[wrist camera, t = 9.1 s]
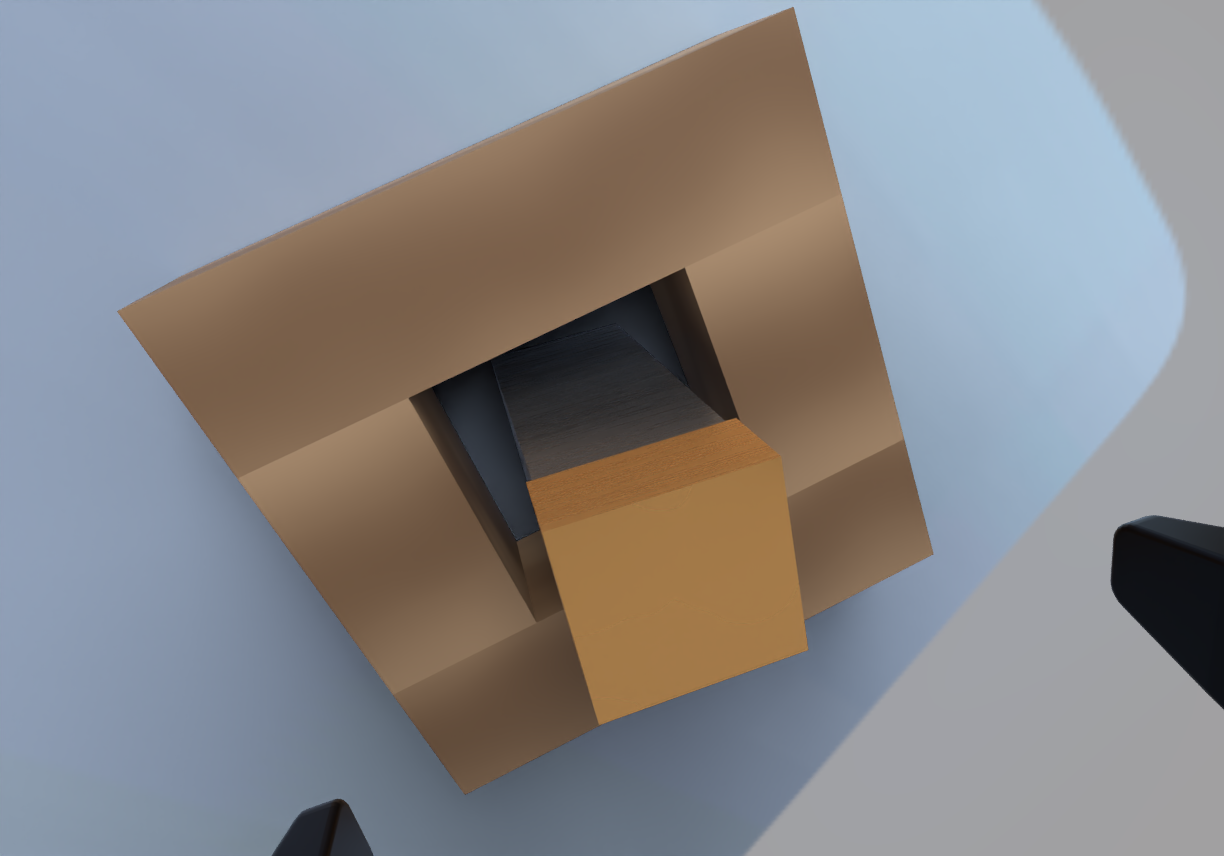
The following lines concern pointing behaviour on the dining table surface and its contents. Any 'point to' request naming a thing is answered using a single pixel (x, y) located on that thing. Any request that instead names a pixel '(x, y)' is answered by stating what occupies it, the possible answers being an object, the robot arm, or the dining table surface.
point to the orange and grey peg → (651, 521)
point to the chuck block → (516, 313)
